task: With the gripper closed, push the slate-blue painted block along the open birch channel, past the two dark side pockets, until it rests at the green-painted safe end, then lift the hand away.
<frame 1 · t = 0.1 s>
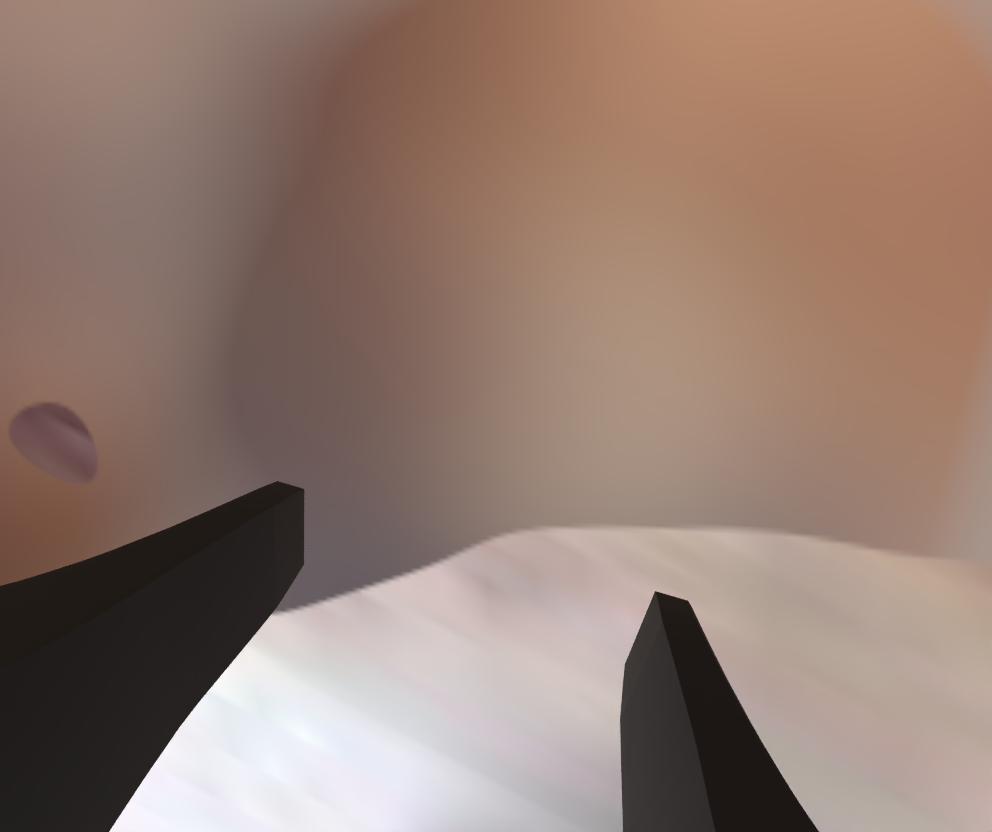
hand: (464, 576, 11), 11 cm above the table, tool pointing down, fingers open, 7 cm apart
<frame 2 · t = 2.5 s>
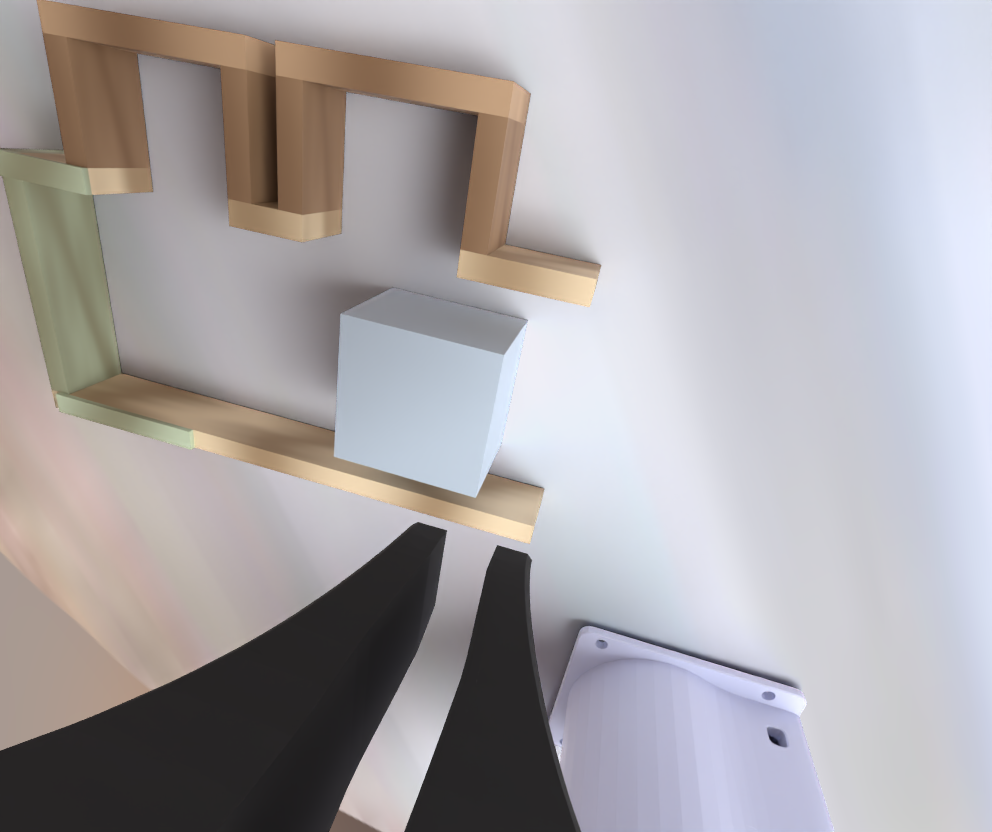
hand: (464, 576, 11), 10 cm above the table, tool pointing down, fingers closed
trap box: (313, 335, 21), on the table
block: (450, 367, 20), on the table
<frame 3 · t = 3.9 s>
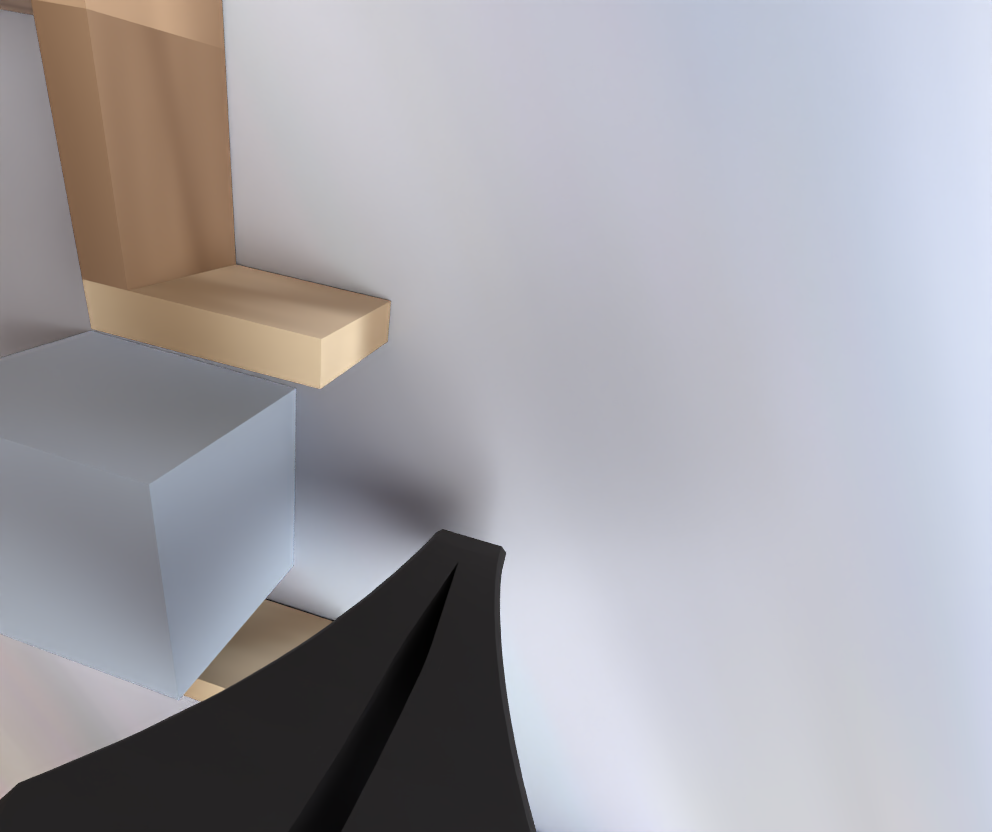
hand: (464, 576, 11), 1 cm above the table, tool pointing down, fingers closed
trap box: (2, 399, 13), on the table
block: (202, 453, 13), on the table
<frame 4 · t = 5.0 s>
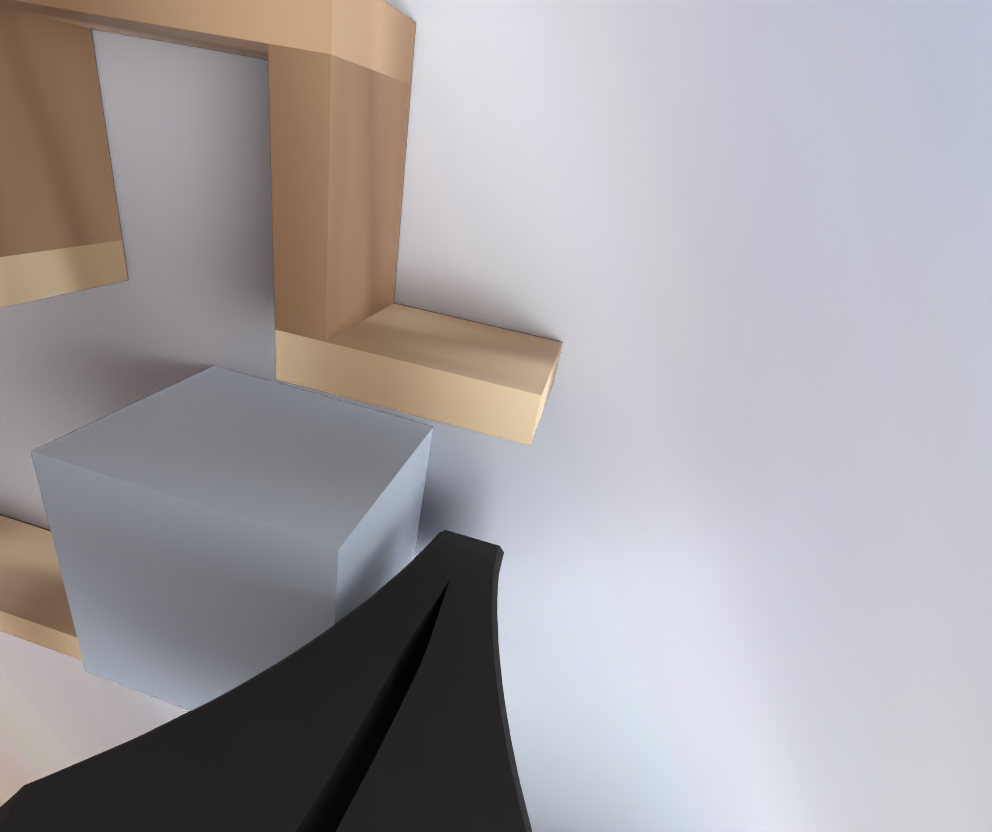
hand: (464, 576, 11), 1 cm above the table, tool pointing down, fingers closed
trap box: (116, 434, 13), on the table
block: (318, 491, 12), on the table, touching gripper
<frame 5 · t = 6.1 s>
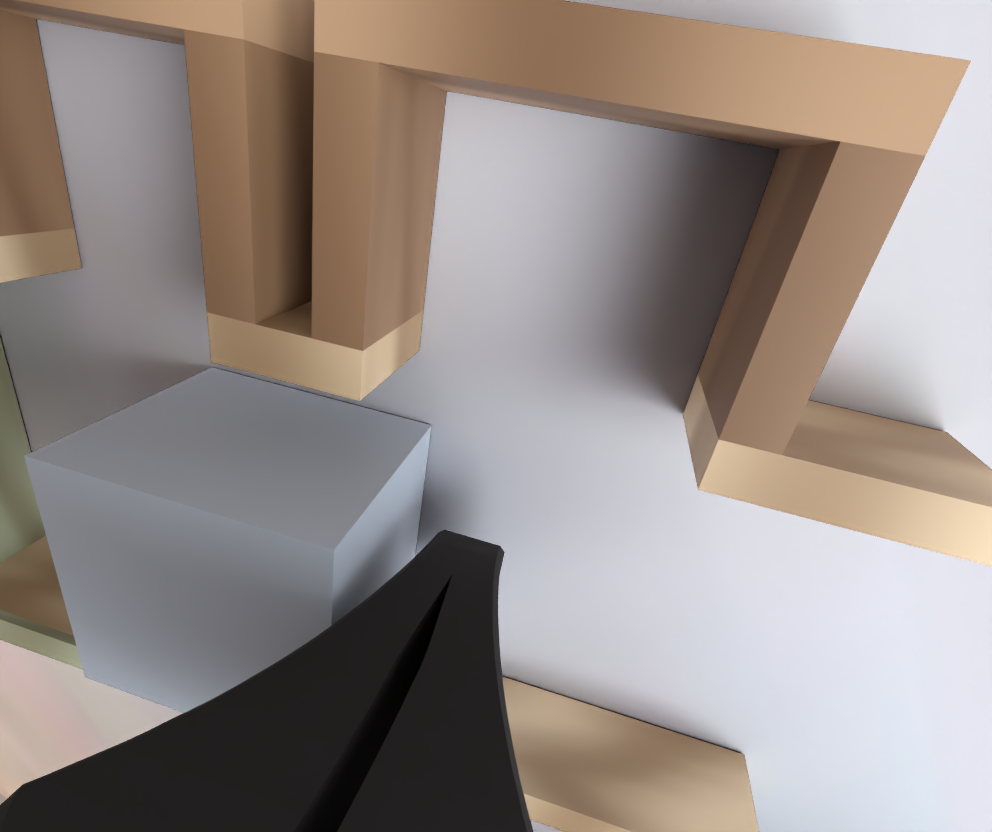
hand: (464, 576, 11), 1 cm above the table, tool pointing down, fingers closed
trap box: (360, 504, 12), on the table
block: (316, 492, 12), on the table, touching gripper
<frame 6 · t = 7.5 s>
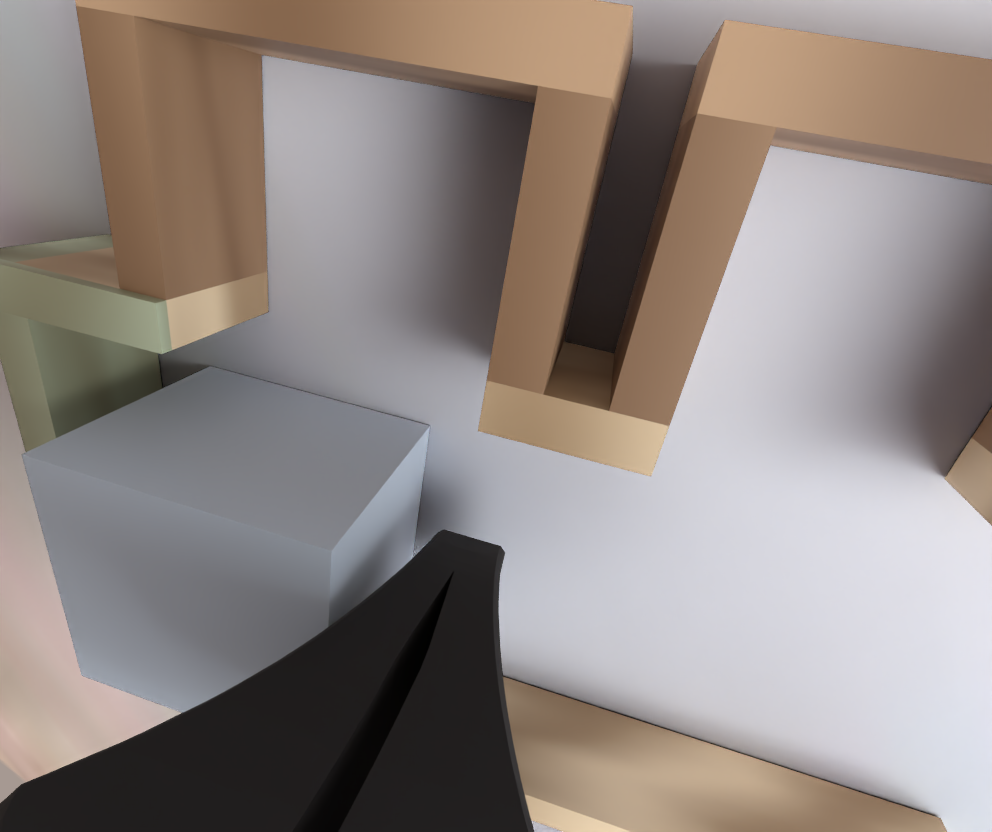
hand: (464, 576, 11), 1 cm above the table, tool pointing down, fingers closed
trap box: (545, 558, 11), on the table
block: (314, 492, 12), on the table, touching gripper
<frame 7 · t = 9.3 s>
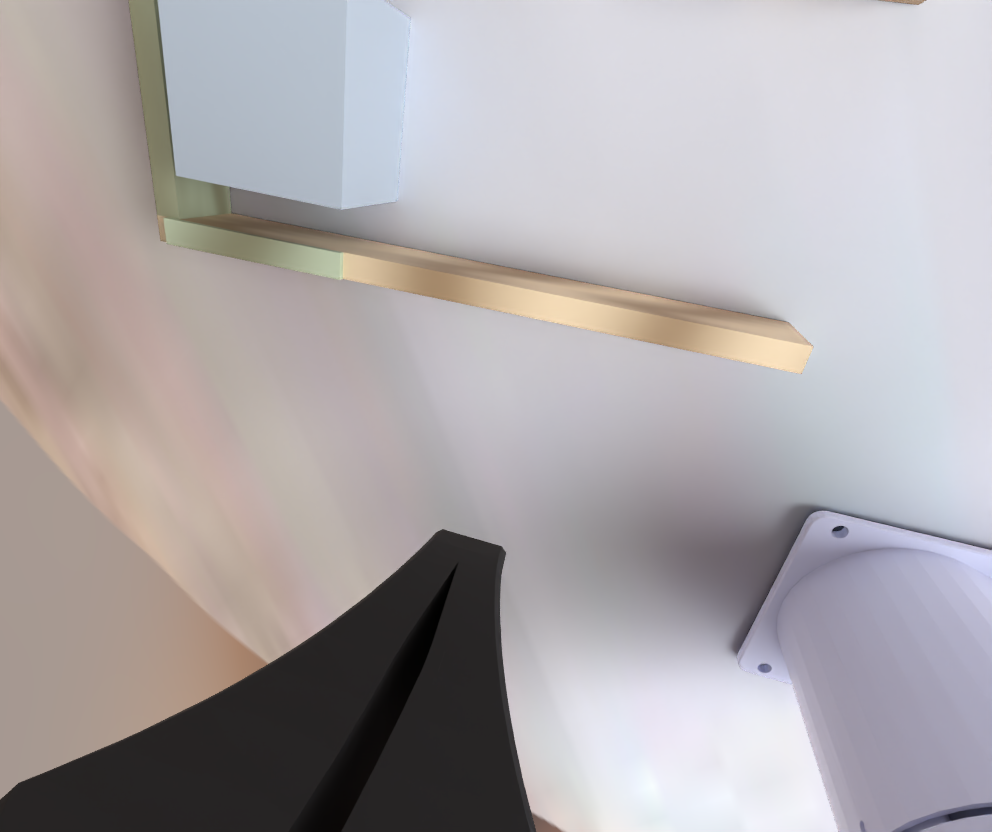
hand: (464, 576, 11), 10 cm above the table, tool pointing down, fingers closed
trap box: (495, 127, 16), on the table
block: (331, 102, 17), on the table
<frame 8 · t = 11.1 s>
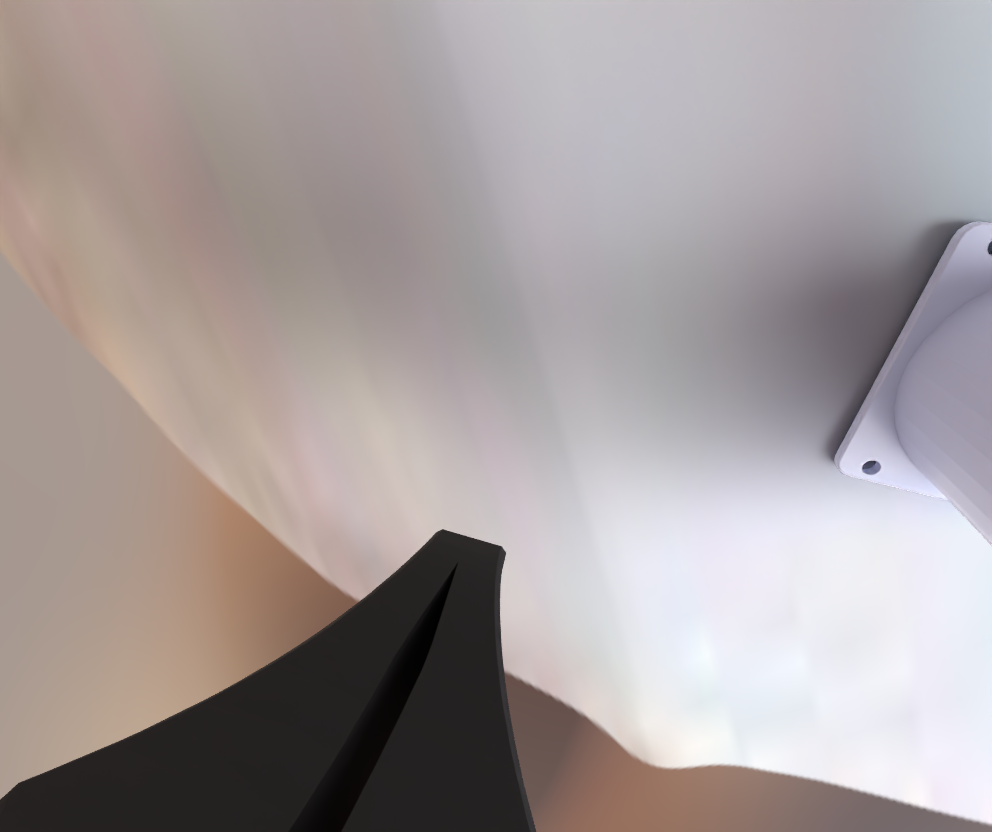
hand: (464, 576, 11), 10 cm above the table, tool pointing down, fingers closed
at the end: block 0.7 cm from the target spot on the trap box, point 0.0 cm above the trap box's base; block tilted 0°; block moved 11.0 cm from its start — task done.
